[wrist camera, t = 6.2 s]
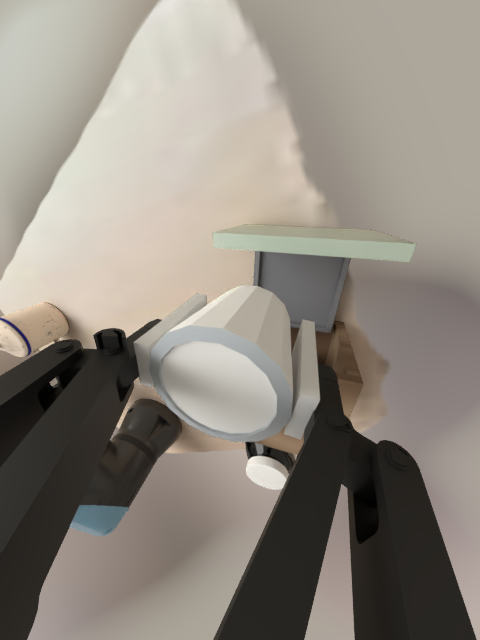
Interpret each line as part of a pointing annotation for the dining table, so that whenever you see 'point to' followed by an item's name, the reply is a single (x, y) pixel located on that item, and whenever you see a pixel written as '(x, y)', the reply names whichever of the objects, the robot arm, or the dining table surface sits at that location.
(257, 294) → the shot glass
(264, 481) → the spread jar
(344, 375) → the box
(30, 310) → the teacup with lid
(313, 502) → the robot arm
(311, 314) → the pale green angular block
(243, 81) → the dining table surface
